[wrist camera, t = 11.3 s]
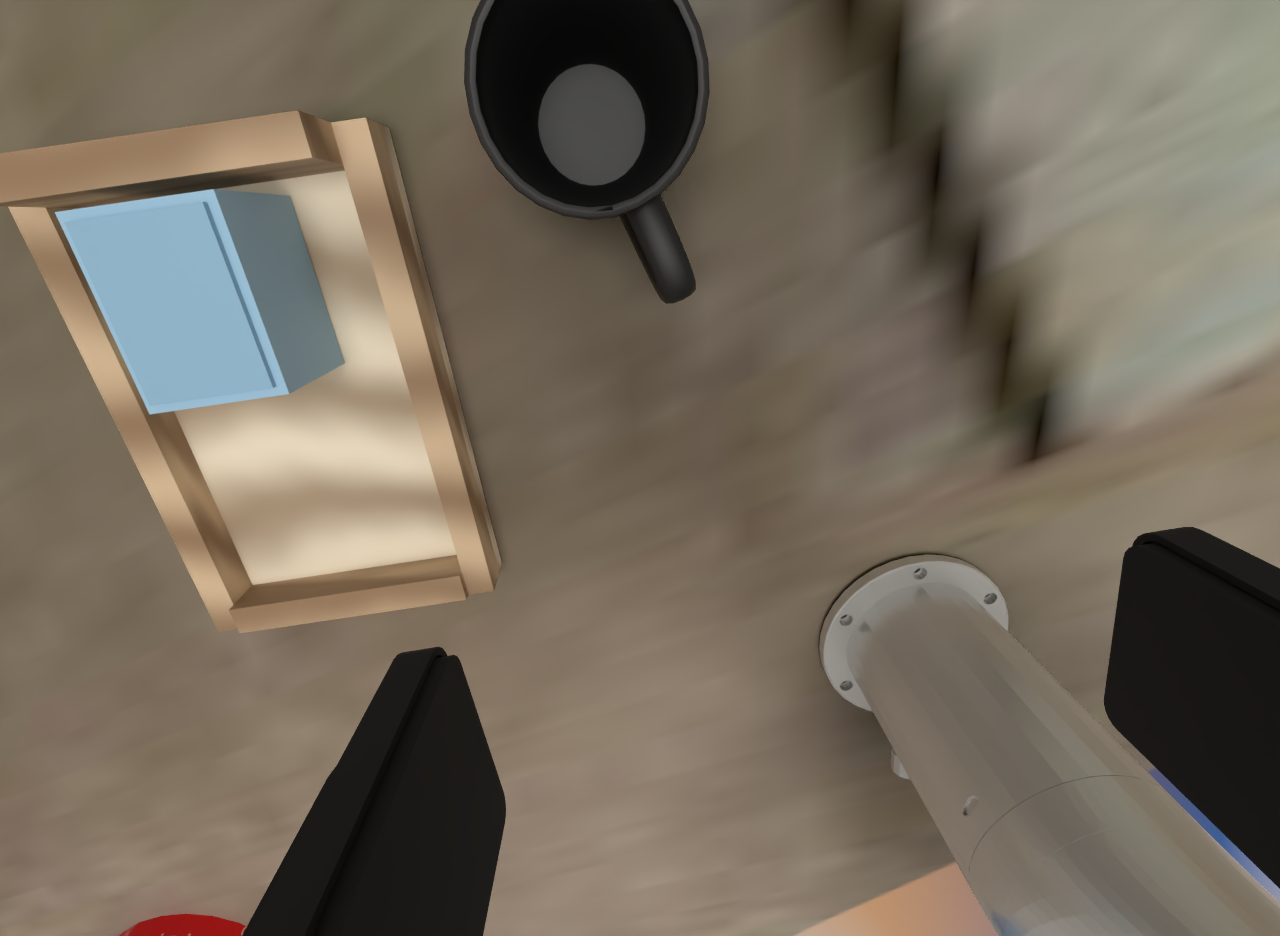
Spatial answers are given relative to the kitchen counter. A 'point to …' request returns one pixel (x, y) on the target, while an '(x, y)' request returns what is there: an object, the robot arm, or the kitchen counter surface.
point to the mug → (594, 111)
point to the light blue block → (206, 295)
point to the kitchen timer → (186, 926)
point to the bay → (310, 416)
